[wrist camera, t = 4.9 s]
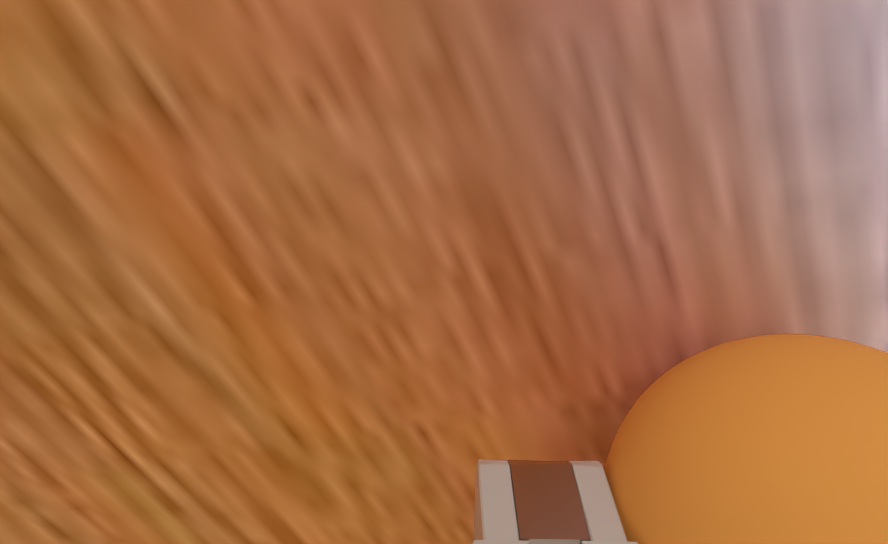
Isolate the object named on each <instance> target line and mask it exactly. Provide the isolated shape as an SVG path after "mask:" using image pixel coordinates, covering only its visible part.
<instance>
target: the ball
mask: <svg viewBox="0 0 888 544" xmlns="http://www.w3.org/2000/svg"><path fill="white" fill-rule="evenodd" d="M604 471H605V474H606V477H607V480H608V483H609V486H610V489H611V492H612V495H613V498H614V501H615V504H616V507H617V511H618V514H619V517H620V520H621V523H622V526H623V529H624V532H625V535H626V538H627V541H628V542H638V543H639V544H888V353H887V352H885V351H881V350H878V349H875V348H871V347H868V346H865V345H861V344H858V343H854V342H851V341H847V340H843V339H837V338H830V337H824V336H817V335H806V334H771V335H762V336H755V337H749V338H743V339H737V340H733V341H729V342H726V343H722V344H719V345H717V346H714V347H712V348H709V349H707V350H704V351H702V352H699V353H697V354H695V355H693V356H691V357H689V358H687V359H685V360H683V361H682V362H680V363H679V364H677V365H675V366H674V367H672V368H671V369H670V370H668V371H667V372H665V373H664V374H663V375H661V376H660V377H659V378H658V379H657V380H656V381H655V382H654V383H652V384H651V385H650V386H649V387H648V388H647V389H646V391H645V392H644V393H643V394H642V395H641V396H640V397H639V399H638V400H637V401H636V402H635V404H634V405H633V406H632V408H631V409H630V411H629V412H628V414H627V415H626V417H625V418H624V420H623V422H622V423H621V425H620V427H619V429H618V431H617V433H616V435H615V438H614V440H613V443H612V446H611V449H610V452H609V455H608V457H607V460H606V464H605V469H604Z"/></svg>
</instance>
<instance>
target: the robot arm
mask: <svg viewBox="0 0 888 544" xmlns="http://www.w3.org/2000/svg"><path fill="white" fill-rule="evenodd" d="M472 544H639V543H638V542H628V541H627V538H626V535H625V532H624V529H623V526H622V523H621V520H620V517H619V514H618V511H617V507H616V504H615V501H614V498H613V495H612V492H611V489H610V486H609V483H608V480H607V477H606V474H605V471H604V468H603V465H602V464H601V463H600V462H599V461H569V462H568V461H528V460H508V462H507V461H506V460H483V459H478V462H477V471H476V489H475V510H474V541H473V542H472Z"/></svg>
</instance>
